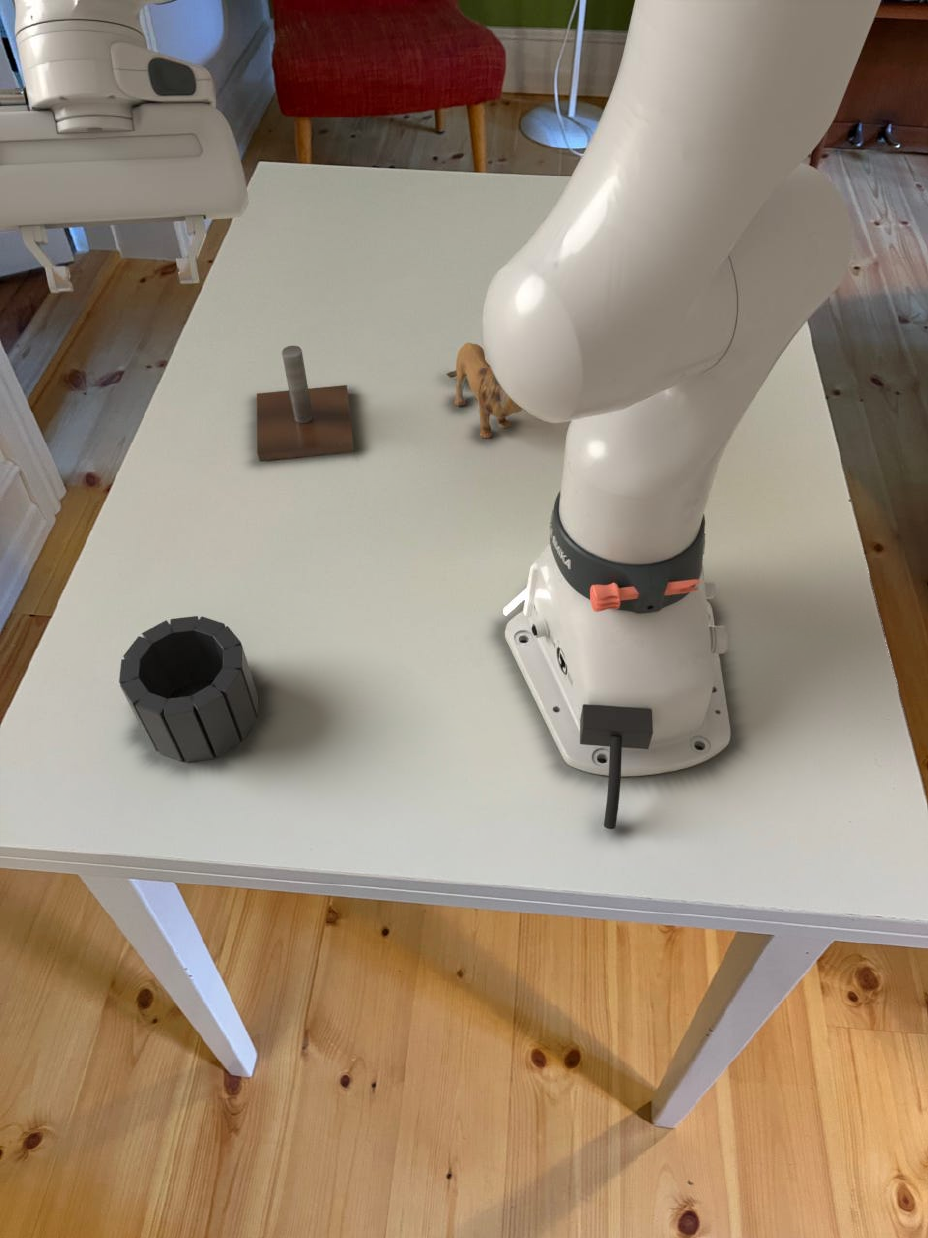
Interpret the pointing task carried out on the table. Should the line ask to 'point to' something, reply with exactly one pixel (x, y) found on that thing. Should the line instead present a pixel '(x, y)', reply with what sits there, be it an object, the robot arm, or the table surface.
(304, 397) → the peg stand
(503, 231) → the table surface
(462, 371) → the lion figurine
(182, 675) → the dark grey grooved ring
